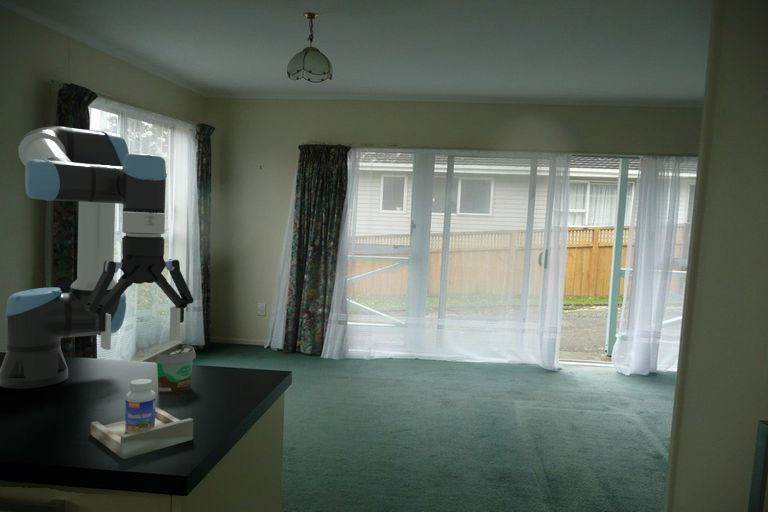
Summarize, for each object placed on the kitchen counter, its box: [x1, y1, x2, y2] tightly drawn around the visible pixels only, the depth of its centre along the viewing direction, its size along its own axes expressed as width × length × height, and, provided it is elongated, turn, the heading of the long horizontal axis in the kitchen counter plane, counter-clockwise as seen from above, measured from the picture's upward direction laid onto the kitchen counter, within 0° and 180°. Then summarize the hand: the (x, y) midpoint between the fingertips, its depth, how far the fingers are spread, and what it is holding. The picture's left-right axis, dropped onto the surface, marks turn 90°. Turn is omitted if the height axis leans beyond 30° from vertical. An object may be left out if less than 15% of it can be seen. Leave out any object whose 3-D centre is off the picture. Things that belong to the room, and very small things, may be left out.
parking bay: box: [90, 407, 194, 460], centre depth 108 cm, size 15×13×4 cm
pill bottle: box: [124, 378, 156, 433], centre depth 108 cm, size 5×5×10 cm
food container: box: [155, 344, 197, 395], centre depth 137 cm, size 12×6×10 cm, turn 168°
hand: (141, 343), depth 107 cm, fingers open, 13 cm apart
